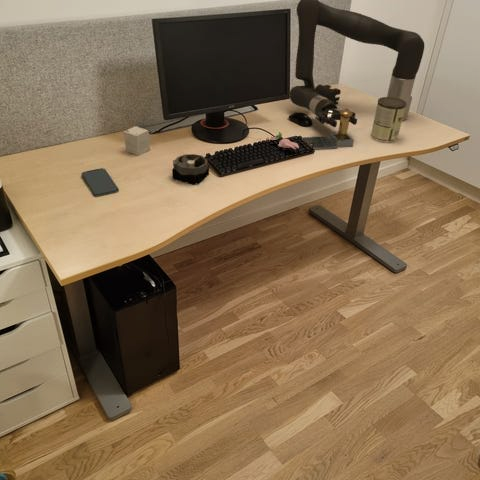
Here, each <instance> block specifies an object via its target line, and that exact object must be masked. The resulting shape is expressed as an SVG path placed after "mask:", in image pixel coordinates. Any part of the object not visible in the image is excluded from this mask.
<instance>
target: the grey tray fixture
mask: <svg viewBox="0 0 480 480" xmlns="http://www.w3.org/2000/svg"><path fill="white" fill-rule="evenodd" d="M337 136H338V132H337V133H335V132H334V133H330V134H329V135H327V136H326V135H325V136H324V135H323V136H307V137H306V136H305V137H302V138H303V139H304V140H305V141H306V142H307V143H308V144H310V145H311V146H312V147H313V149H314V150H313V151H320V150H335V149H338V148H345V147H347V148H348V147H353V146H354V143H355V142H354V141H355V140H354V138H353V137H352V136H351V135H349V134H348V133H347V136H346V139H345V140H338V139H337Z"/></svg>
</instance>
